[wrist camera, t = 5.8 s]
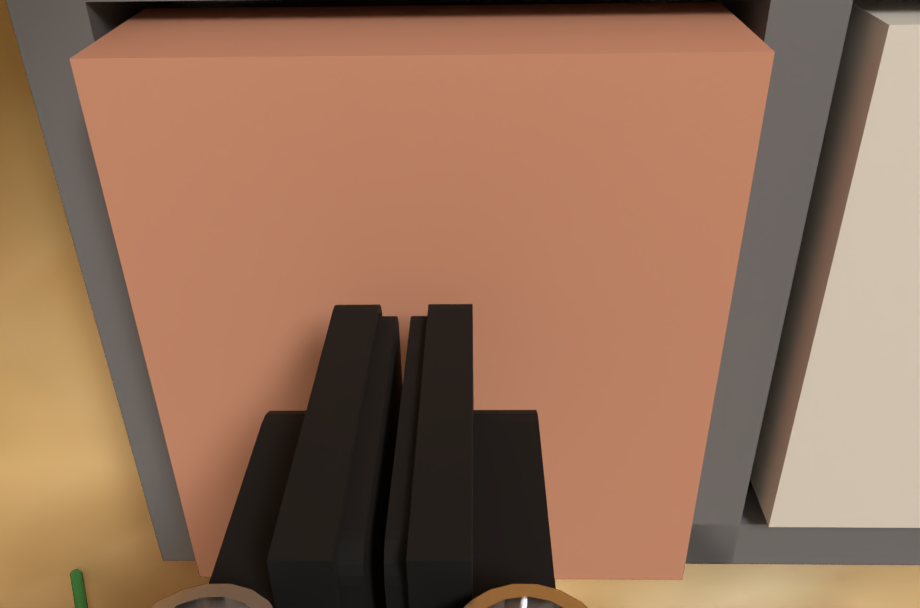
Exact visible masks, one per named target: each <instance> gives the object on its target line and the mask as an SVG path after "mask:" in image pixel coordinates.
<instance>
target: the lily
mask: <svg viewBox="0 0 920 608" xmlns="http://www.w3.org/2000/svg"><path fill="white" fill-rule="evenodd" d="M70 577H71V583H72V590H73V596H74V603H75V608H88V605H87V599H86V592H85V586H84V580H83V574H82V572H81V571H80V570H74V571H72V572H71V573H70Z"/></svg>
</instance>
